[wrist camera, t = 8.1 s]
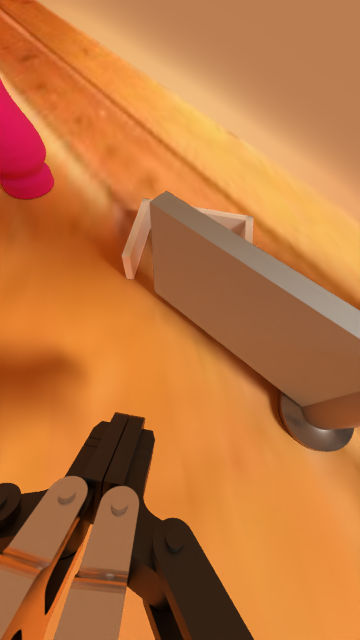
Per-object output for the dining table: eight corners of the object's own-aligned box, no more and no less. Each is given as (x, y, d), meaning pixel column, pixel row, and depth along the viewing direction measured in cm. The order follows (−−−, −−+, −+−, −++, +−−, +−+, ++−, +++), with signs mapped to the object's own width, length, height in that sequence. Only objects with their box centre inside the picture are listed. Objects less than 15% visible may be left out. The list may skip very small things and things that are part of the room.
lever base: (341, 383, 22) (347, 381, 21) (353, 457, 19) (360, 458, 18) (276, 371, 22) (280, 369, 21) (279, 443, 19) (283, 443, 18)
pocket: (243, 240, 30) (253, 216, 27) (240, 298, 26) (251, 278, 22) (145, 223, 30) (143, 198, 27) (126, 278, 26) (121, 255, 23)
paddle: (343, 408, 20) (520, 373, 10) (329, 438, 19) (512, 432, 9) (169, 278, 25) (174, 171, 15) (149, 295, 24) (140, 191, 14)
